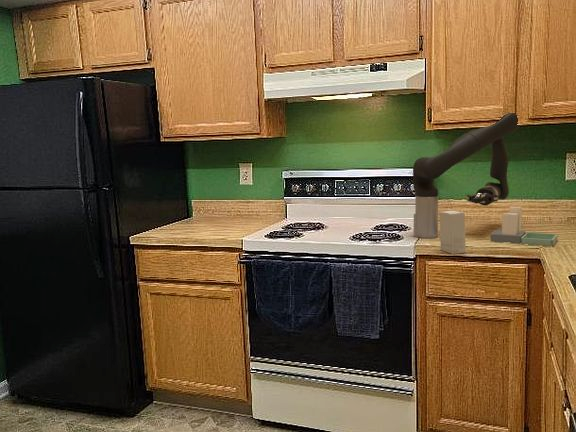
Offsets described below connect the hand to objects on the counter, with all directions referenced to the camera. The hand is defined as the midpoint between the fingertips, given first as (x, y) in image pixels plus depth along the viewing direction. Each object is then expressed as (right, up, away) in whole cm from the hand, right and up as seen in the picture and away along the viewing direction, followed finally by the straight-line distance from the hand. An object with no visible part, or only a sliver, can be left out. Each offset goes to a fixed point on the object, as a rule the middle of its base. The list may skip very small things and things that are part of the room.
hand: (476, 200), depth 208 cm
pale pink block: (+12, -13, -3) cm, 18 cm away
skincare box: (-15, -19, -16) cm, 29 cm away
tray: (+22, -16, -6) cm, 28 cm away
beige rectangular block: (+15, -12, 0) cm, 20 cm away
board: (+13, -16, 0) cm, 20 cm away
